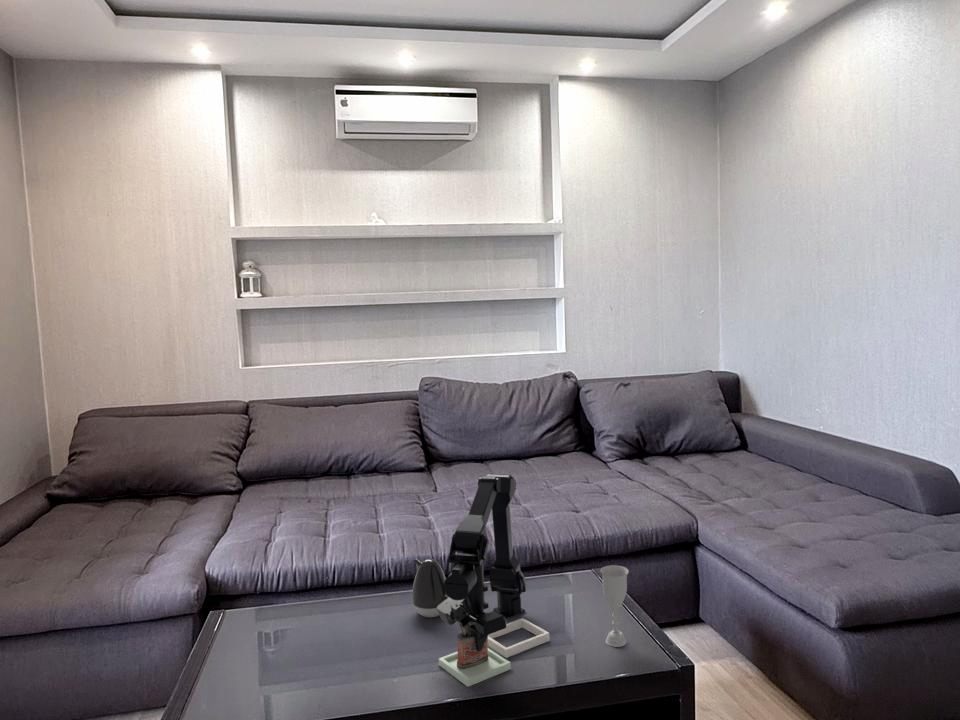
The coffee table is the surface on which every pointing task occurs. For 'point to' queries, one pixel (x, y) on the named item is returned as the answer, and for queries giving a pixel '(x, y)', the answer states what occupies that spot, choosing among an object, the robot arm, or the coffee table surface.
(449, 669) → the tray
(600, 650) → the coffee table surface
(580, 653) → the coffee table surface
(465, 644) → the lighter
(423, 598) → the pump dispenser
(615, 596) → the chalice
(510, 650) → the white picture frame
